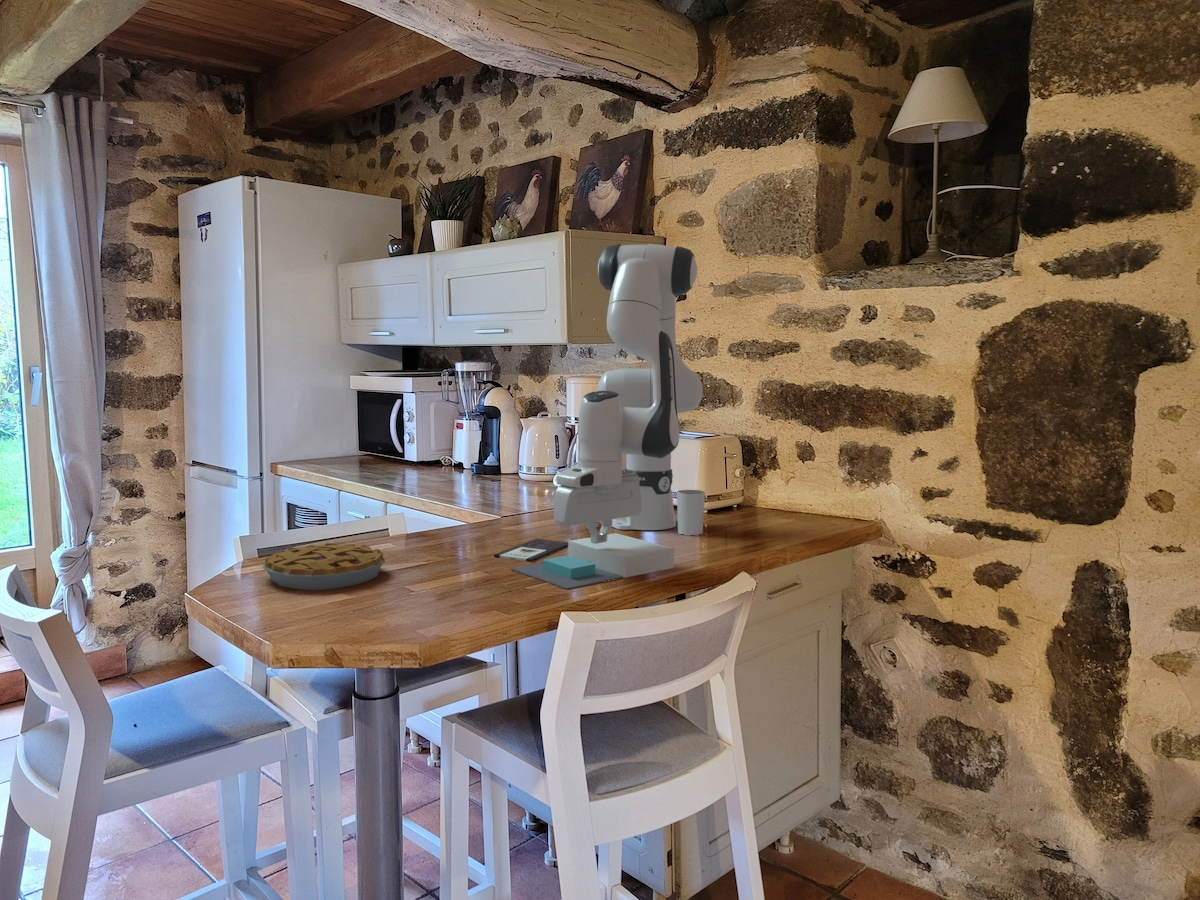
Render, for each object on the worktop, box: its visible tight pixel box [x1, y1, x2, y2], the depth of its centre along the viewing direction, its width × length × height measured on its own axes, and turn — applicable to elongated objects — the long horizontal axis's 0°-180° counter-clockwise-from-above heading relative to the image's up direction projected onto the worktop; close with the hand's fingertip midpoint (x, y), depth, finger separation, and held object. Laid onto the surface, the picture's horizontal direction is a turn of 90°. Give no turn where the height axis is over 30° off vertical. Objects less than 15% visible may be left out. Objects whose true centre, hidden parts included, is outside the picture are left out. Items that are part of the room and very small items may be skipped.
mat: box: [511, 562, 624, 590], centre depth 171 cm, size 18×14×1 cm
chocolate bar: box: [493, 538, 568, 563], centre depth 190 cm, size 9×1×18 cm
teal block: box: [542, 555, 595, 579], centre depth 171 cm, size 9×6×2 cm, turn 40°
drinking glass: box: [676, 489, 706, 536], centre depth 210 cm, size 7×7×10 cm
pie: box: [262, 542, 386, 591], centre depth 166 cm, size 22×22×5 cm
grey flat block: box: [567, 533, 675, 578], centre depth 179 cm, size 18×13×4 cm
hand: (598, 542), depth 175 cm, fingers closed
